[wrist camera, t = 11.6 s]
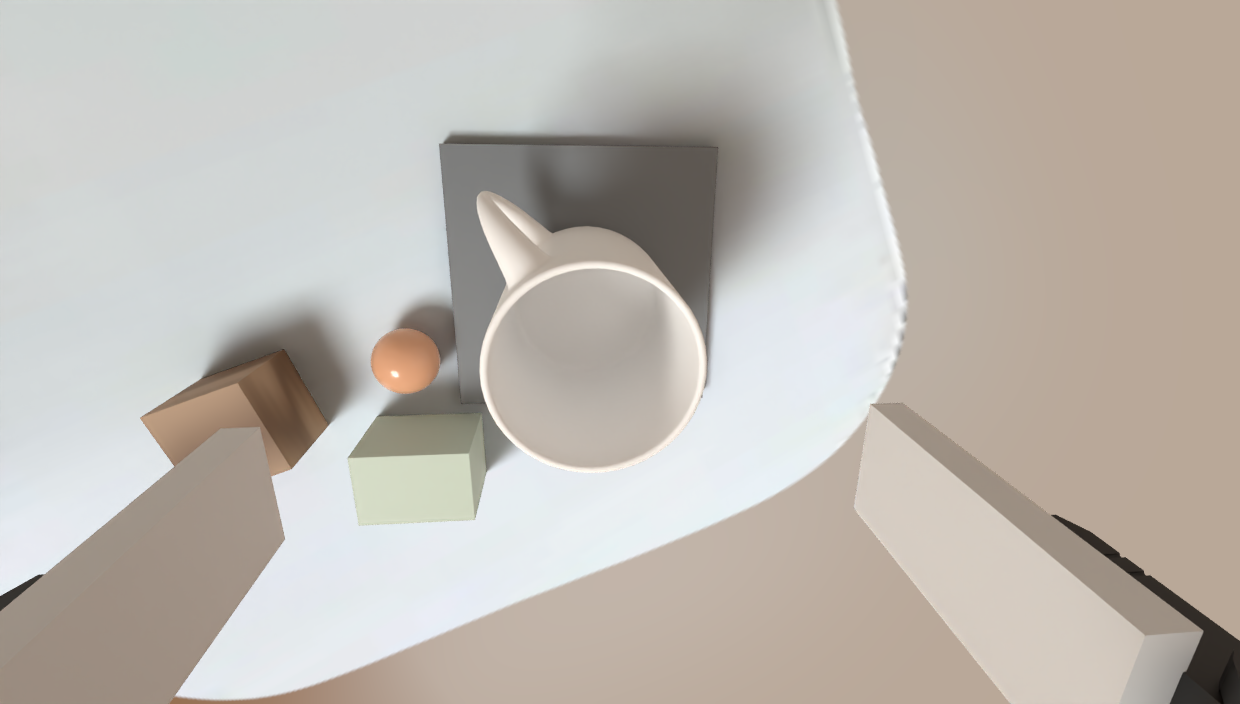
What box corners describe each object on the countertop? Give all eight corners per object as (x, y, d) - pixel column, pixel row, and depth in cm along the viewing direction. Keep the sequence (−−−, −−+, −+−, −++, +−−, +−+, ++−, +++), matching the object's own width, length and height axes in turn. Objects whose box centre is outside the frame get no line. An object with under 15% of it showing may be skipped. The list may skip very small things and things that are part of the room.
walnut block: (201, 378, 32) (140, 418, 28) (284, 348, 32) (237, 383, 28) (249, 452, 34) (199, 501, 29) (329, 424, 34) (291, 469, 29)
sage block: (377, 415, 34) (347, 458, 29) (481, 412, 35) (468, 453, 30) (386, 475, 35) (358, 525, 31) (486, 471, 36) (474, 519, 31)
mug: (565, 131, 29) (565, 123, 19) (691, 319, 33) (748, 394, 23) (430, 233, 30) (363, 275, 20) (568, 403, 34) (570, 511, 24)
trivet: (442, 143, 30) (439, 143, 29) (714, 147, 31) (717, 147, 30) (463, 398, 34) (461, 404, 33) (699, 392, 35) (702, 397, 35)
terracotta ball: (378, 320, 32) (356, 340, 29) (443, 320, 33) (429, 339, 29) (385, 380, 33) (366, 405, 30) (448, 378, 34) (435, 403, 30)
